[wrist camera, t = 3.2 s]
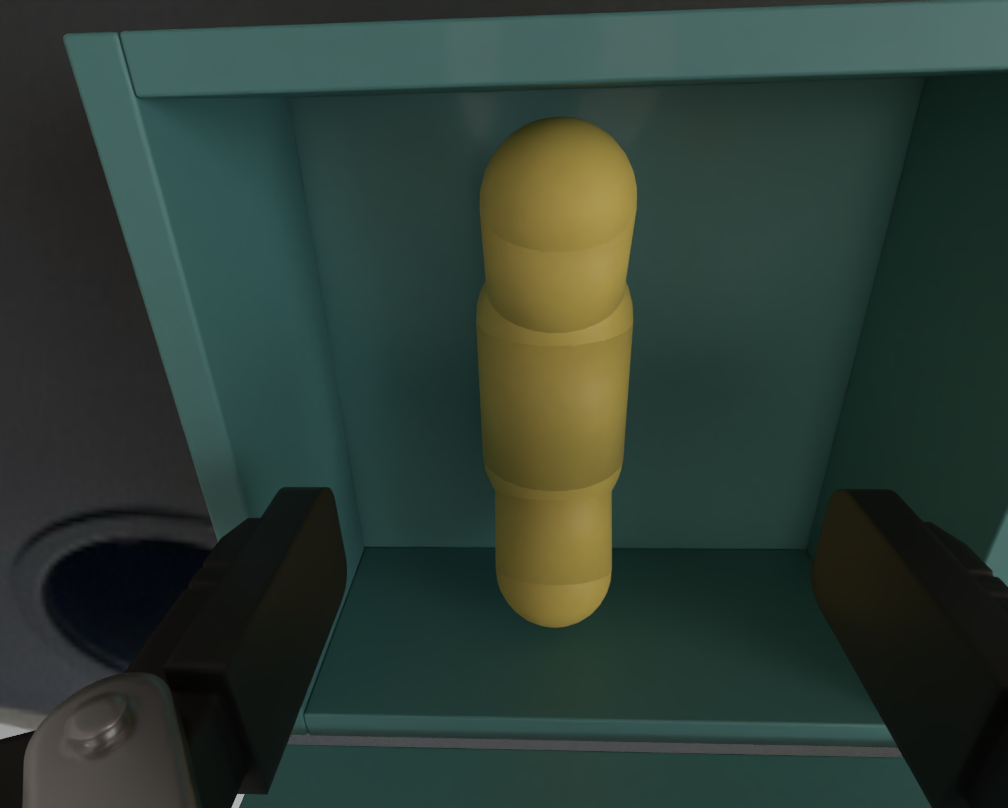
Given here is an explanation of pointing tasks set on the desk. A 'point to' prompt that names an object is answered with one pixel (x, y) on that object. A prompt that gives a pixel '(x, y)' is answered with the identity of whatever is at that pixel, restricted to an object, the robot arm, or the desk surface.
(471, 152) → the bread box
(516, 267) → the yellow segmented capsule
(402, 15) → the desk surface
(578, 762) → the lid
